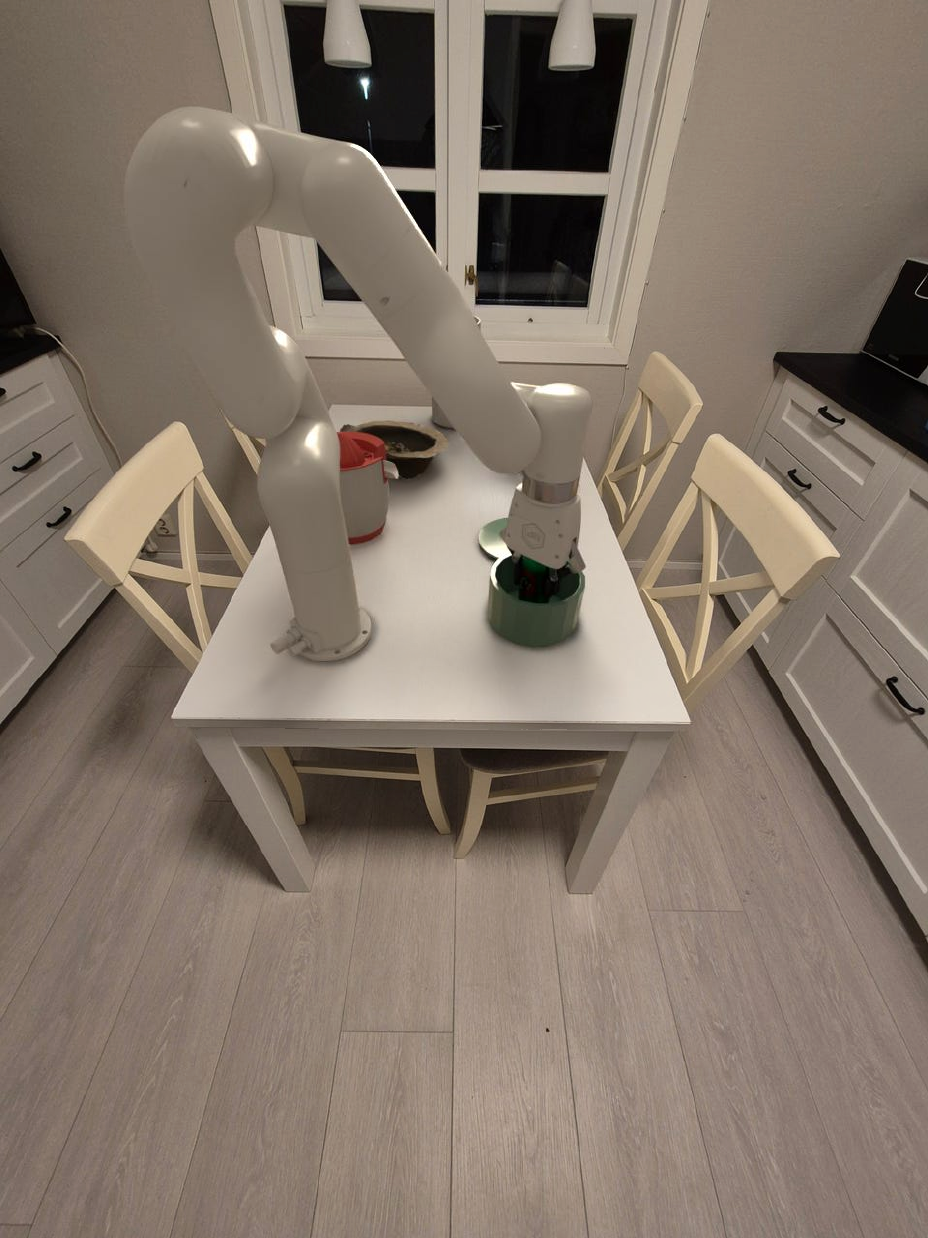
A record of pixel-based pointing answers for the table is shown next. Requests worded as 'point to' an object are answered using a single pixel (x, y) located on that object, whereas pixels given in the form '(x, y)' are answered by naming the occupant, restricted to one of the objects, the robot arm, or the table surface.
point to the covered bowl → (532, 608)
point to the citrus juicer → (364, 485)
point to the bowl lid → (493, 538)
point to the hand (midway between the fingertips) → (535, 587)
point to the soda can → (532, 581)
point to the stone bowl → (405, 444)
